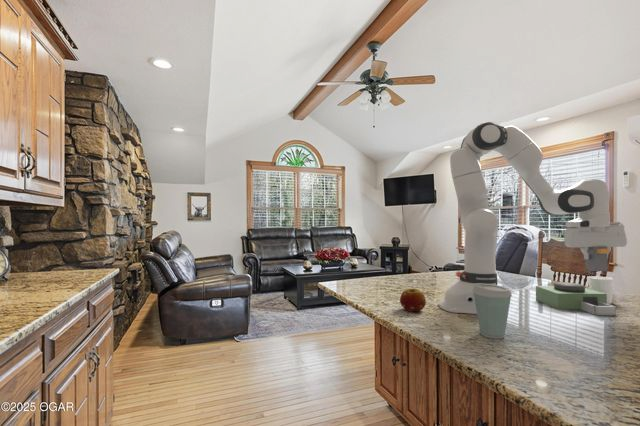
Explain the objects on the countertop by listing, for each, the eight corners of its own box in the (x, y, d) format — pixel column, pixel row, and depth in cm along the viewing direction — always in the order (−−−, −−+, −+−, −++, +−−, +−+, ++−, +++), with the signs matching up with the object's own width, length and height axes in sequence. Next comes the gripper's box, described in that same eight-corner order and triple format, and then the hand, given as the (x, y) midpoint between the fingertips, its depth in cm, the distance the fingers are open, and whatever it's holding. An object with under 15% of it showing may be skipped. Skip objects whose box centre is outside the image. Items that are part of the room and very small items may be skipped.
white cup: (603, 299, 139) (603, 276, 139) (619, 304, 131) (618, 279, 131) (584, 299, 139) (583, 276, 140) (598, 304, 132) (597, 279, 132)
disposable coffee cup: (505, 330, 102) (504, 282, 102) (519, 343, 91) (518, 290, 91) (469, 328, 104) (468, 281, 104) (478, 340, 93) (477, 288, 93)
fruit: (398, 312, 122) (398, 291, 122) (401, 306, 130) (401, 286, 131) (425, 314, 118) (424, 293, 119) (426, 308, 127) (426, 288, 127)
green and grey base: (571, 314, 117) (570, 292, 118) (535, 299, 139) (535, 281, 139) (623, 315, 116) (623, 292, 116) (579, 300, 138) (579, 281, 138)
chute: (585, 269, 123) (584, 245, 124) (598, 269, 123) (597, 245, 123) (599, 272, 117) (598, 247, 117) (612, 271, 117) (611, 246, 117)
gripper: (616, 221, 124) (617, 257, 124) (560, 222, 125) (562, 258, 125) (631, 221, 118) (632, 259, 117) (572, 222, 119) (574, 260, 119)
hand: (595, 259), depth 121 cm, fingers closed on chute, 4 cm apart
